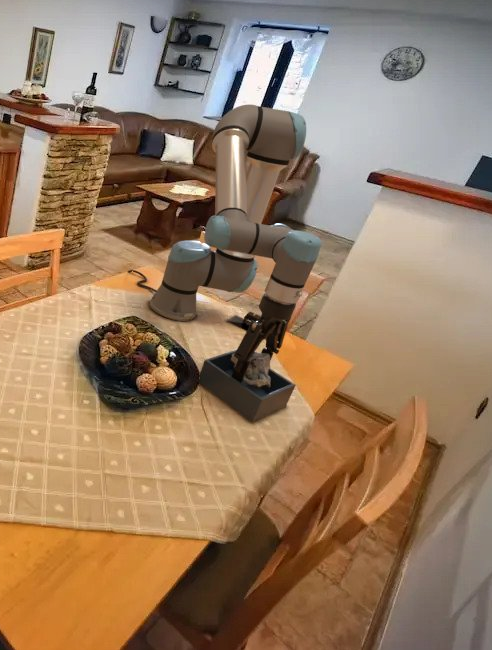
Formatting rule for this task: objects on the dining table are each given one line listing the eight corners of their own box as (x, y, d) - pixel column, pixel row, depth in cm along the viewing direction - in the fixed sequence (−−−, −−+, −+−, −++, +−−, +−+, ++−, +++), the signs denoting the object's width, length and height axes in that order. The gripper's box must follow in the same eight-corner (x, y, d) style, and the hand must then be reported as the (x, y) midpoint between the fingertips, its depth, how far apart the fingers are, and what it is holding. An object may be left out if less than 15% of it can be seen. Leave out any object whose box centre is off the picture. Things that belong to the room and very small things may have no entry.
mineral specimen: (241, 400, 127) (254, 374, 133) (271, 396, 120) (282, 370, 127) (222, 370, 124) (235, 346, 131) (251, 365, 118) (264, 340, 125)
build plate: (270, 332, 164) (275, 320, 162) (262, 339, 159) (267, 326, 157) (235, 316, 171) (240, 304, 168) (226, 322, 165) (231, 309, 163)
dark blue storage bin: (196, 381, 131) (204, 359, 128) (231, 368, 140) (239, 348, 136) (252, 422, 119) (262, 399, 116) (285, 406, 128) (296, 384, 125)
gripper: (266, 313, 107) (233, 395, 118) (319, 298, 120) (284, 374, 131) (238, 297, 112) (208, 378, 123) (291, 285, 125) (260, 359, 136)
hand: (247, 376), depth 127 cm, fingers closed on mineral specimen, 9 cm apart
